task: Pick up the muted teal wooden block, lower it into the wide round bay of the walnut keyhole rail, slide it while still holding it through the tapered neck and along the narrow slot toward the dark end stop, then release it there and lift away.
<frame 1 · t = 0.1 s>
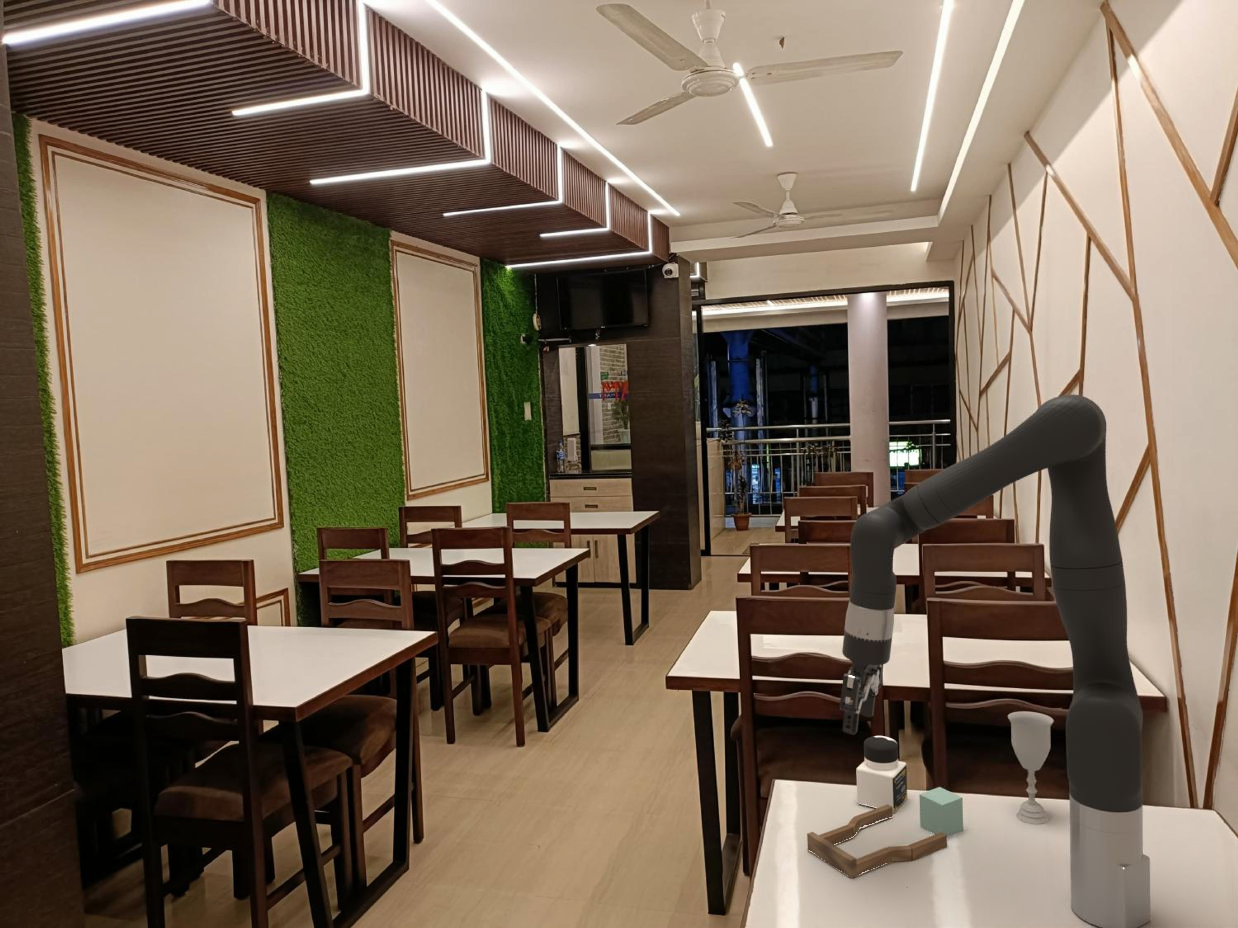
hand: (858, 723, 146), 22 cm above the table, tool pointing down, fingers open, 8 cm apart
chalice: (1032, 817, 157), on the table
medicine bottle: (882, 802, 165), on the table
keyhole rail: (874, 846, 149), on the table
teal block: (941, 828, 154), on the table
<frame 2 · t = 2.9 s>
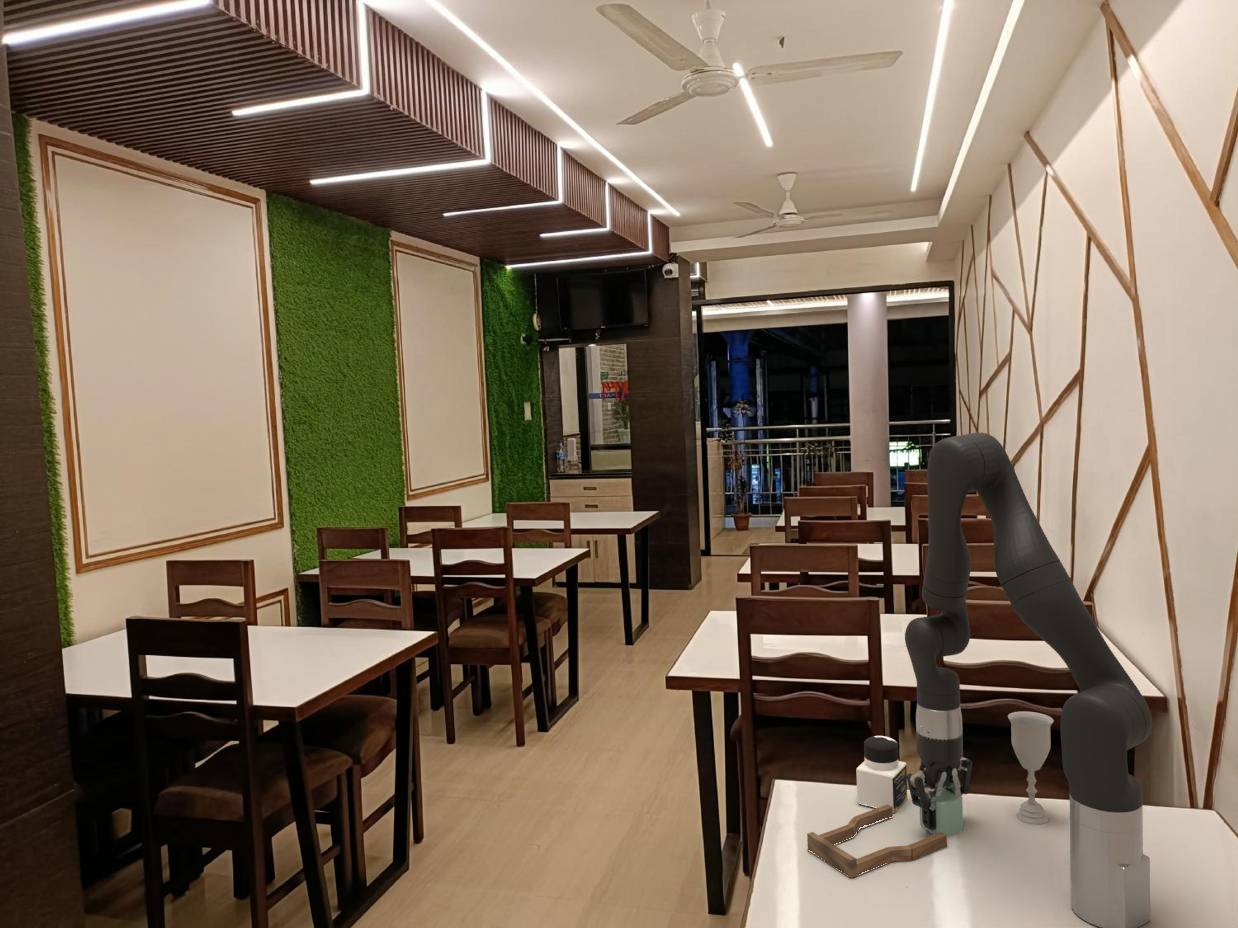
hand: (941, 822, 154), 1 cm above the table, tool pointing down, fingers closed on teal block, 5 cm apart
teal block: (941, 828, 154), on the table, touching gripper
everything else where it was.
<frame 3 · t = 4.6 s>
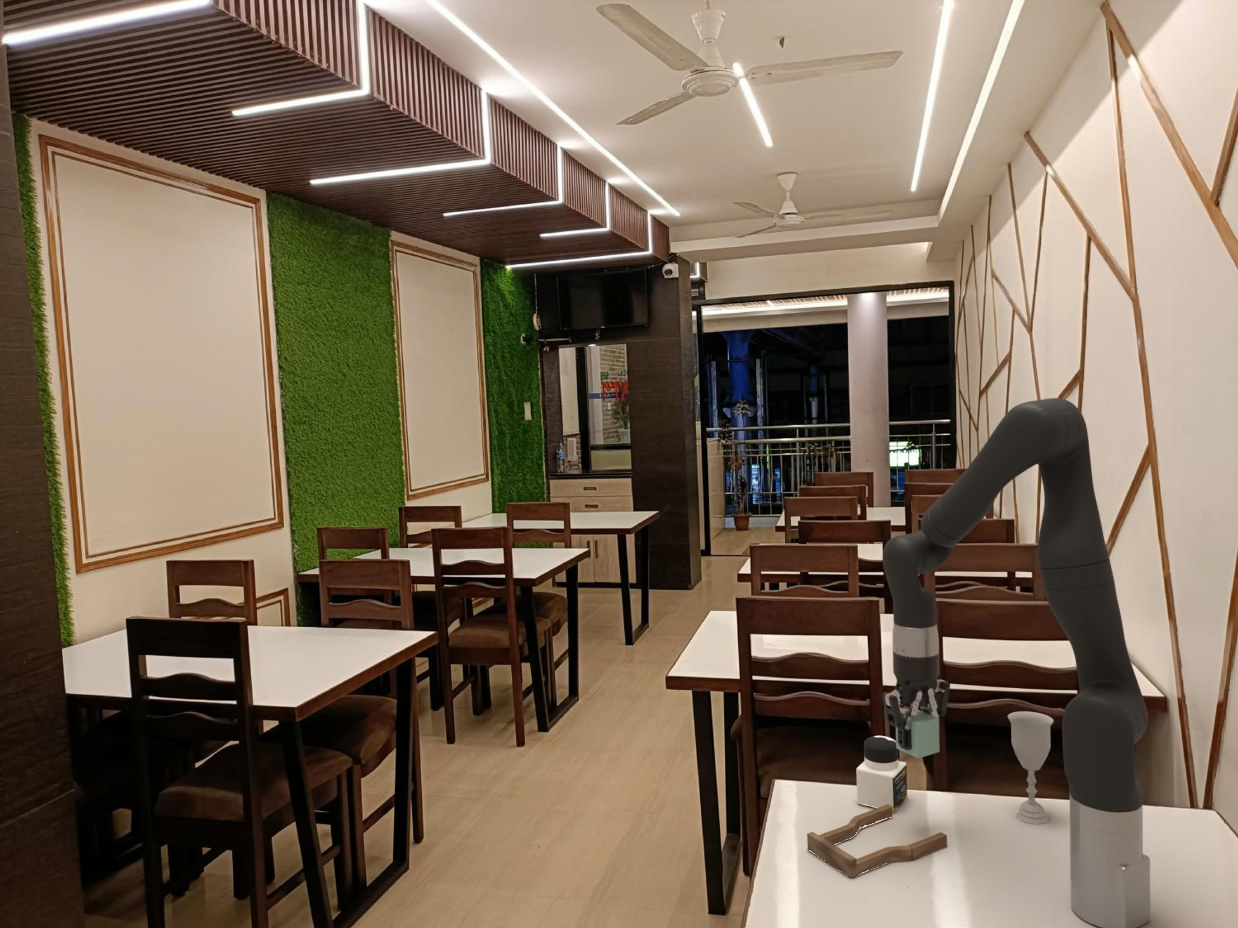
hand: (917, 744, 153), 16 cm above the table, tool pointing down, fingers closed on teal block, 5 cm apart
teal block: (917, 749, 153), point 15 cm above the table, touching gripper
everything else where it was.
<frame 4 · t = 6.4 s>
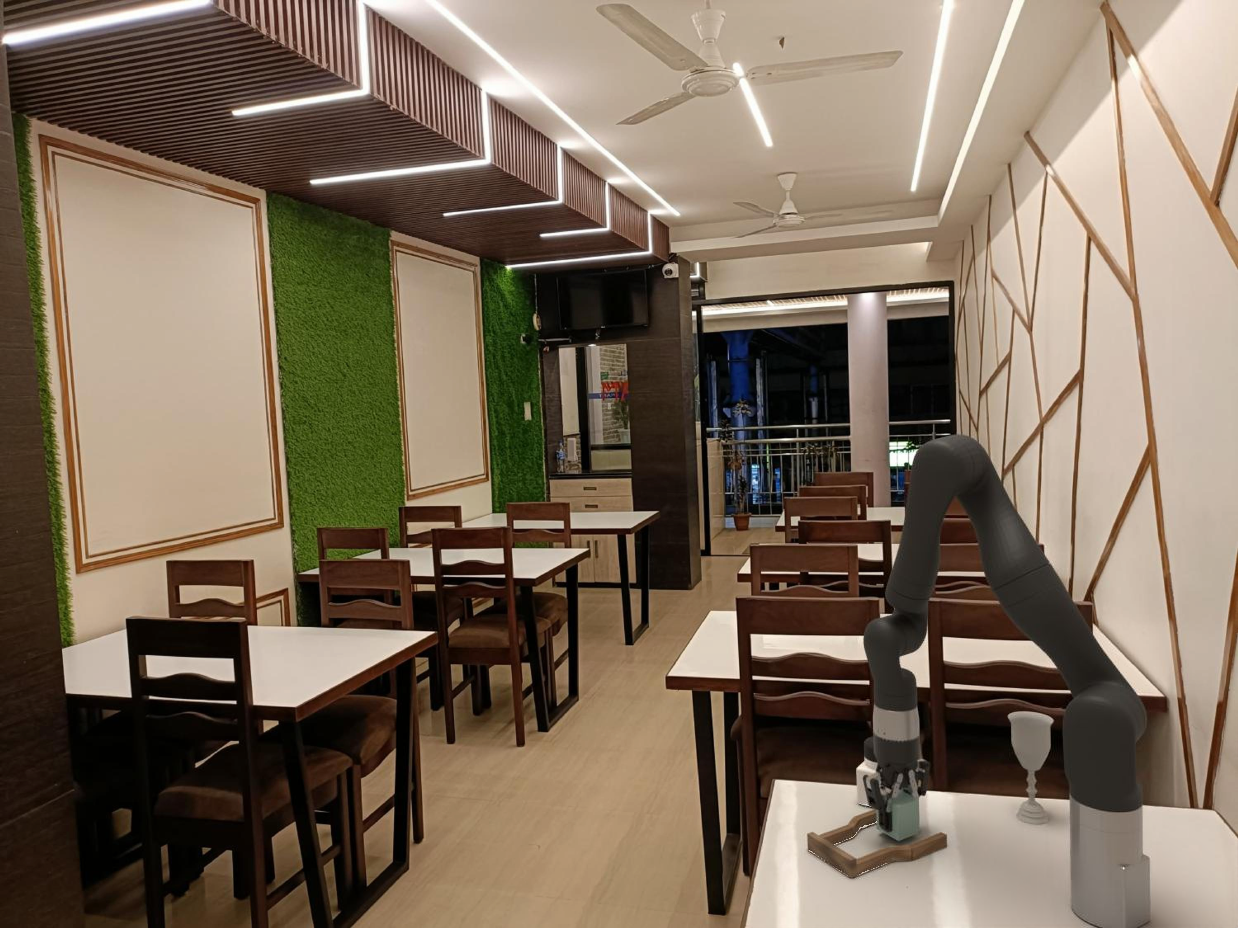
hand: (898, 825, 152), 2 cm above the table, tool pointing down, fingers closed on teal block, 5 cm apart
teal block: (898, 830, 152), point 1 cm above the table, touching gripper
everything else where it was.
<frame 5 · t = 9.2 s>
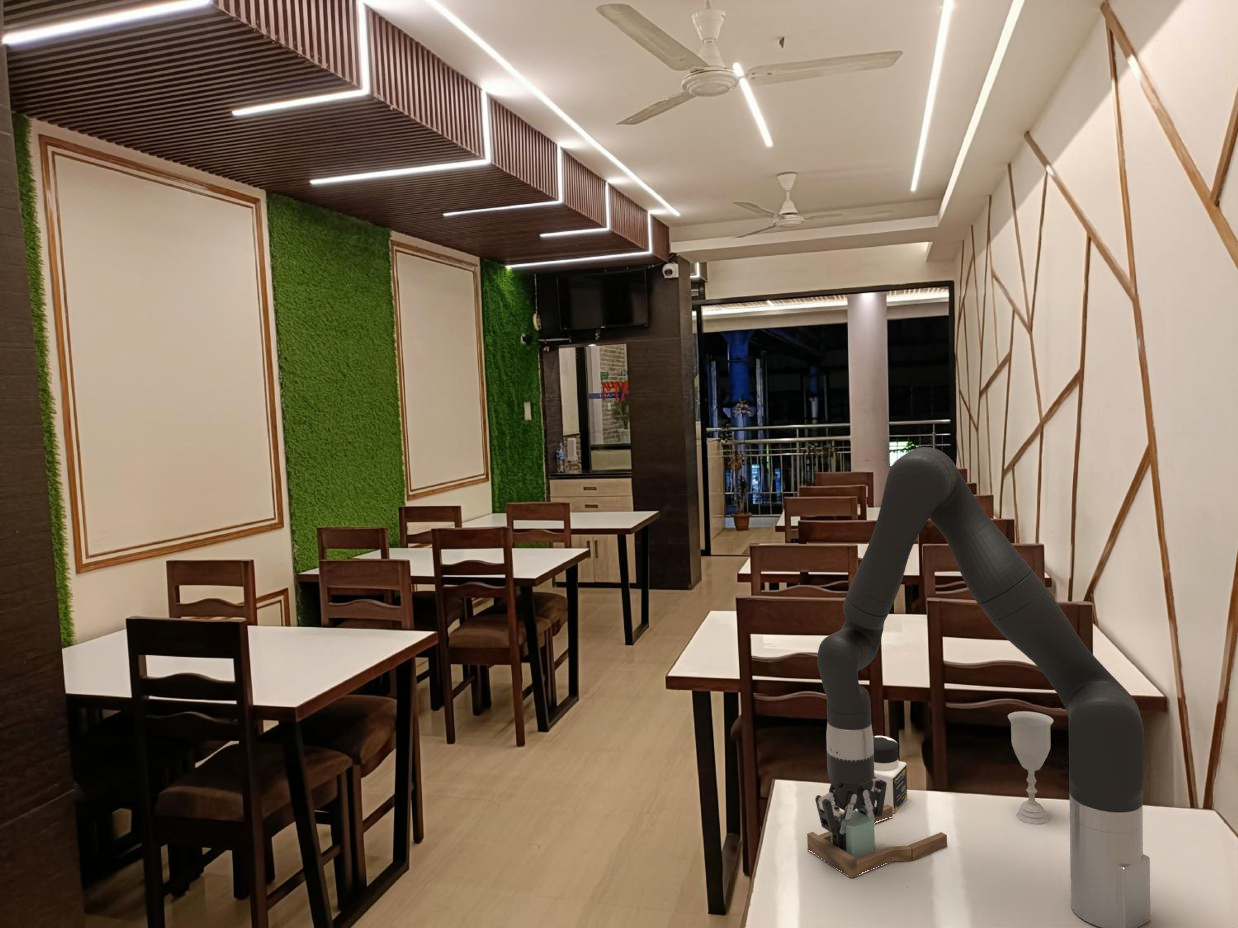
hand: (853, 846, 147), 1 cm above the table, tool pointing down, fingers closed on teal block, 5 cm apart
teal block: (853, 852, 147), resting in keyhole rail, touching gripper
everything else where it was.
when the fingers open (1 cm above the table, at t = 9.7 s): teal block stays where it is, resting in keyhole rail.
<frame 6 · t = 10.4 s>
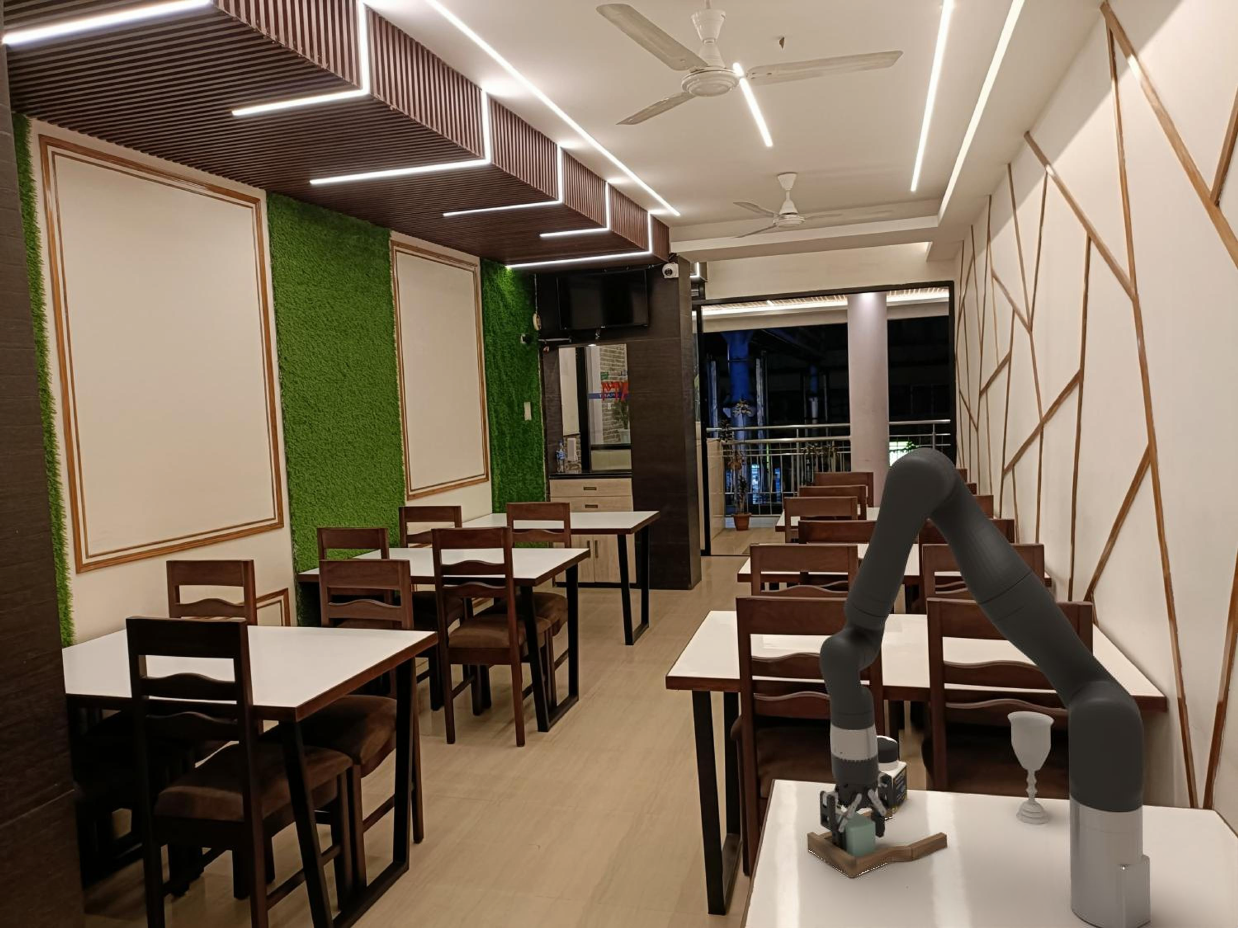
hand: (859, 842, 148), 2 cm above the table, tool pointing down, fingers open, 8 cm apart
teal block: (854, 854, 147), resting in keyhole rail
everything else where it was.
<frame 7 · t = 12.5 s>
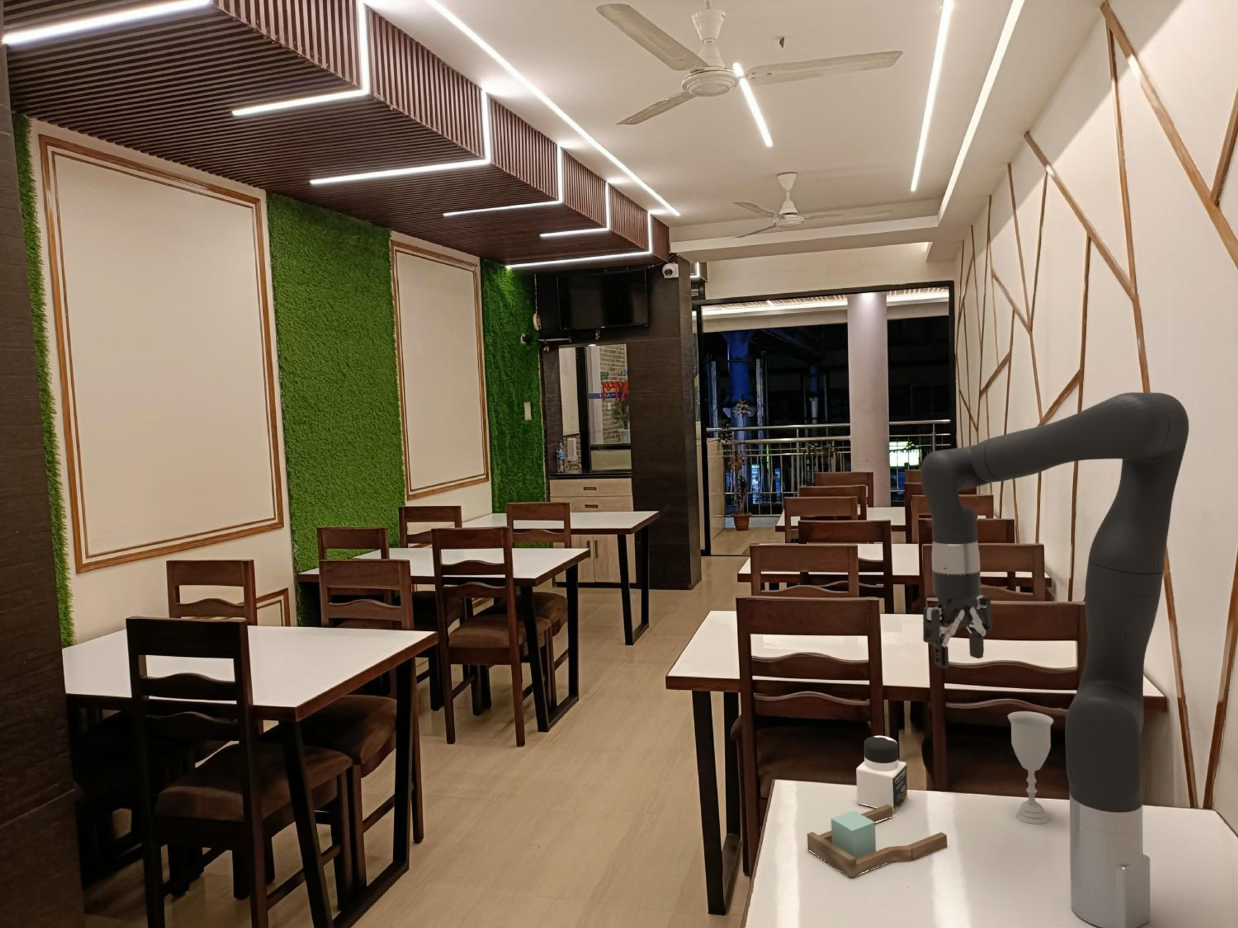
hand: (959, 662, 149), 30 cm above the table, tool pointing down, fingers open, 8 cm apart
nothing on the table moved.
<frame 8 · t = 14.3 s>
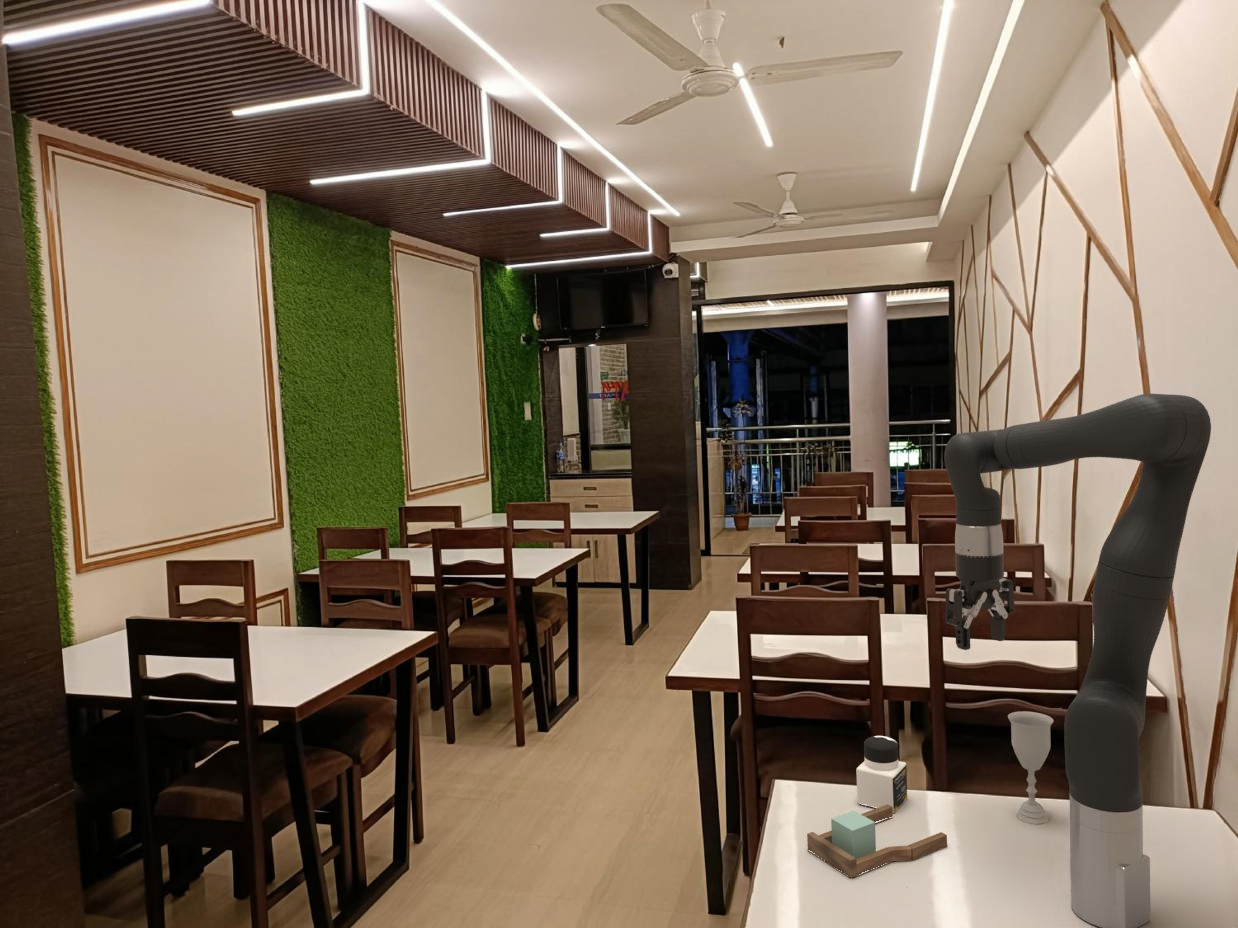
hand: (981, 644, 150), 33 cm above the table, tool pointing down, fingers open, 8 cm apart
nothing on the table moved.
at the end: teal block 0.5 cm from the target spot on the keyhole rail, point 0.0 cm above the keyhole rail's base; teal block tilted 0°; the gripper is holding nothing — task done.
